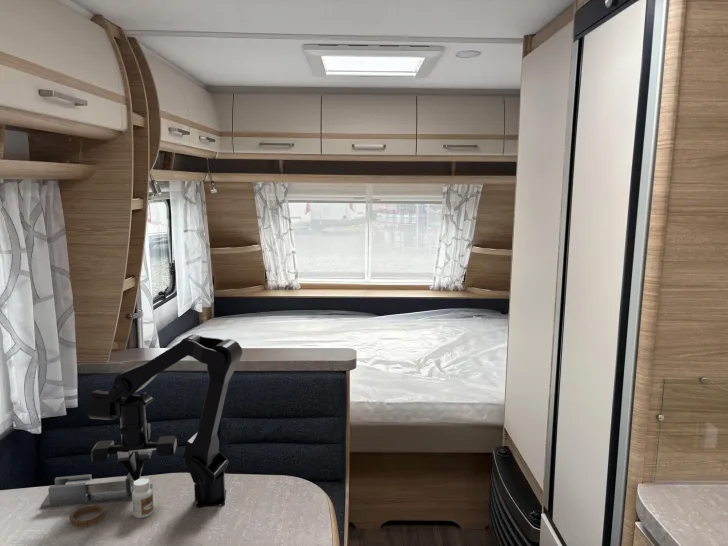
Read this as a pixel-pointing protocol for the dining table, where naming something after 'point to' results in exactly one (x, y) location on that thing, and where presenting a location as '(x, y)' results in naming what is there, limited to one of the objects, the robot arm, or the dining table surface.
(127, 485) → the grey long bar
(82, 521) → the bottle collar
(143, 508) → the pill bottle
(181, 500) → the dining table surface
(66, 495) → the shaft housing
